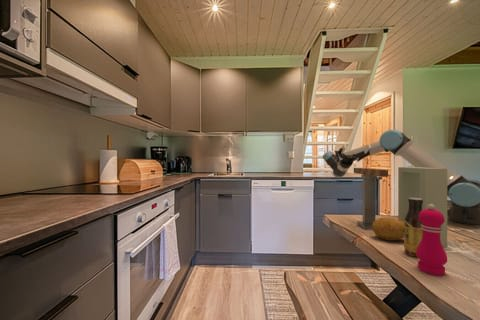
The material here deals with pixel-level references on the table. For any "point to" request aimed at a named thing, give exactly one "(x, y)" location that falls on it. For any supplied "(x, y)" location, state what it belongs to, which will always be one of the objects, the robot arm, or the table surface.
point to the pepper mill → (431, 242)
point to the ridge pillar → (368, 202)
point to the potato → (388, 228)
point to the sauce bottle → (413, 226)
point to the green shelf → (423, 191)
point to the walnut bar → (371, 172)
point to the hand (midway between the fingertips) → (357, 145)
